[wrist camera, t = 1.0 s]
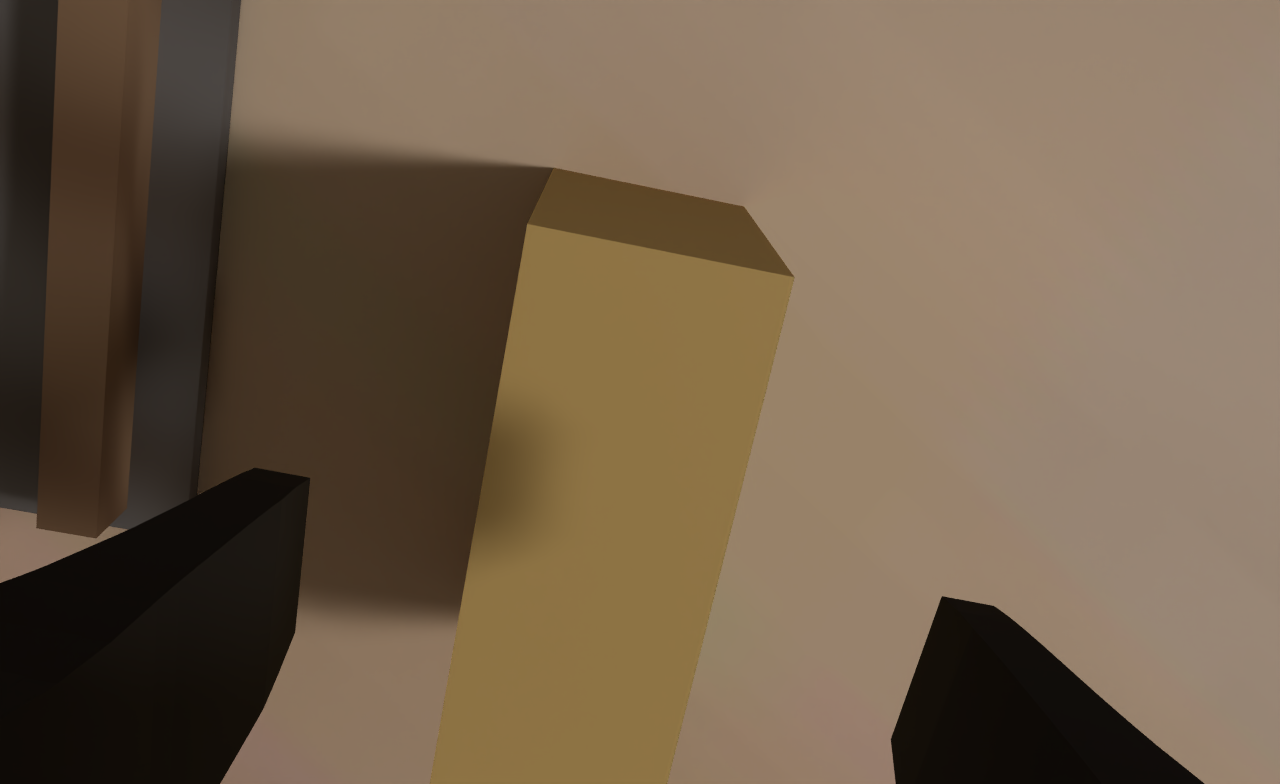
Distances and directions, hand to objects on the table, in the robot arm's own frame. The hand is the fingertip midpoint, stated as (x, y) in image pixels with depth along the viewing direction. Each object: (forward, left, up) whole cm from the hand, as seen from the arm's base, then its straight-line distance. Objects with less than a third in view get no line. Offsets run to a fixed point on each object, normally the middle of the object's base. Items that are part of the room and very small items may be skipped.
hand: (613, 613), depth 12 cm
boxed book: (-2, 0, -12) cm, 12 cm away
